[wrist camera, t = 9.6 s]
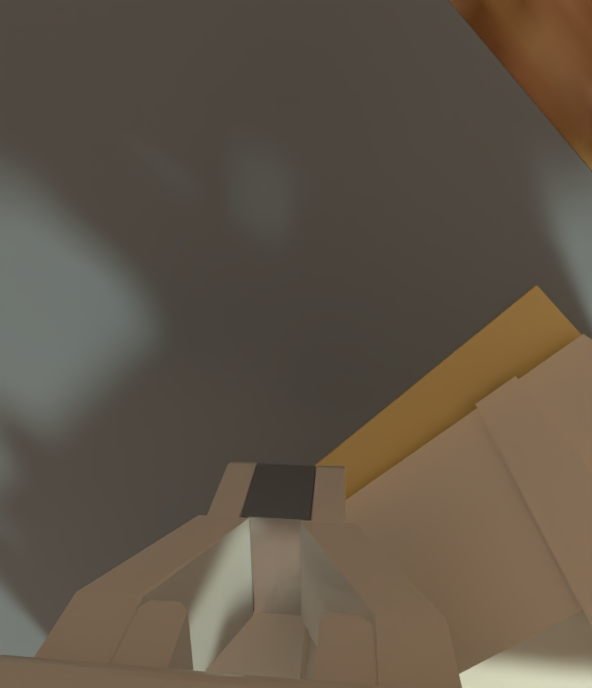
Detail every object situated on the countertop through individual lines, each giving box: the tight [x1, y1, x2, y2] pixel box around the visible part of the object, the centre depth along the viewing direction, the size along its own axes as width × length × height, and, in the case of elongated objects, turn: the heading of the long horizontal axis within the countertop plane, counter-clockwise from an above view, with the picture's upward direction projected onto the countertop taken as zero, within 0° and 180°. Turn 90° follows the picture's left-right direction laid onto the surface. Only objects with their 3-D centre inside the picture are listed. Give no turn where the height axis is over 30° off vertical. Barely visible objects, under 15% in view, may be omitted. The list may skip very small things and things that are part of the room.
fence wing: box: [205, 334, 592, 688], centre depth 9 cm, size 15×1×6 cm, turn 133°
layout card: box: [0, 0, 592, 657], centre depth 13 cm, size 34×24×1 cm
